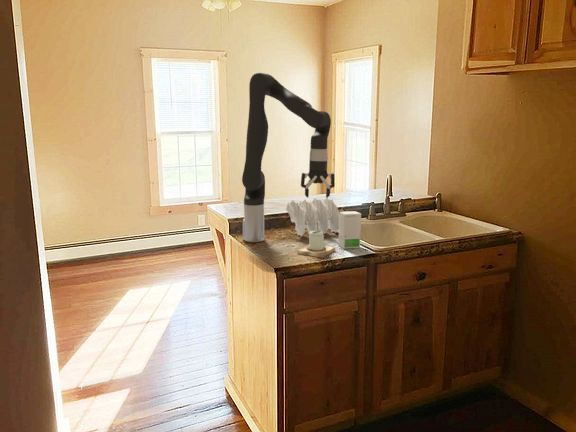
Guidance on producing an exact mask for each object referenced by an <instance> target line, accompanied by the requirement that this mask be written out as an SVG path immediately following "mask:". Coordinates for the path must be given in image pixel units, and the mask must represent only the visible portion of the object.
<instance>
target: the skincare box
mask: <svg viewBox="0 0 576 432" xmlns="http://www.w3.org/2000/svg"><path fill="white" fill-rule="evenodd" d="M361 226H362V213H361V212H358V211H350V210H349V211H339V229H338V240H337V241H338V243H337V245H338V247H340V248H341V249H344V250H346V249H358V248H359V249H360V247H361V231H362V230H361V229H362V227H361Z"/></svg>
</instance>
